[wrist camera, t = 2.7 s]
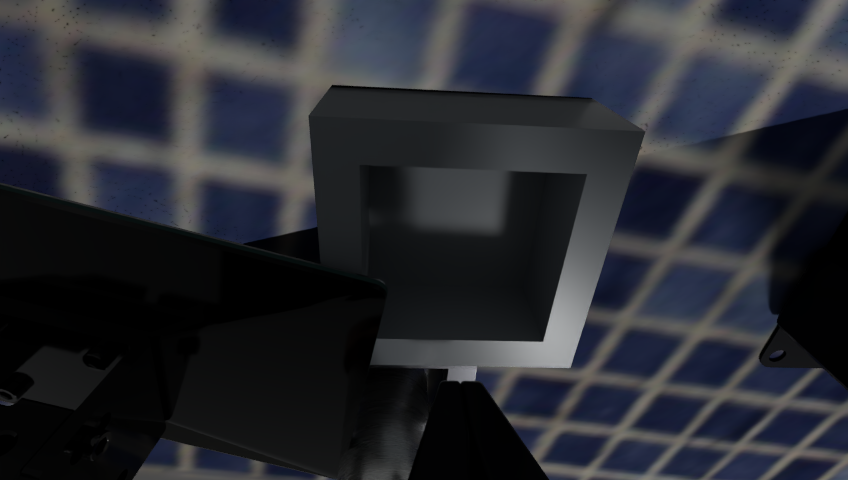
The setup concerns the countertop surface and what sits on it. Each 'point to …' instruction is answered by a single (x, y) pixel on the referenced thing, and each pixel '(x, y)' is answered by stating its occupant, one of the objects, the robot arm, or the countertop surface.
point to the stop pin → (387, 426)
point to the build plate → (169, 345)
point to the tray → (471, 216)
